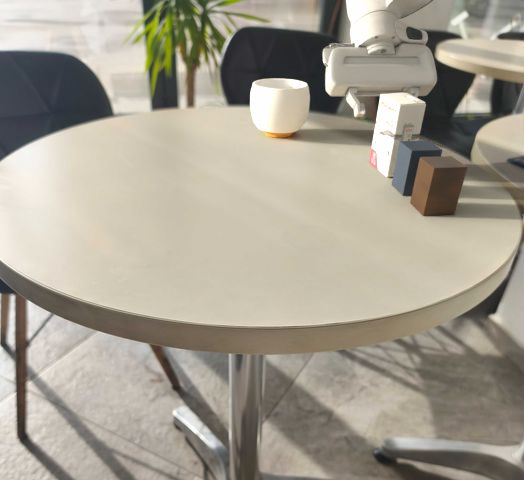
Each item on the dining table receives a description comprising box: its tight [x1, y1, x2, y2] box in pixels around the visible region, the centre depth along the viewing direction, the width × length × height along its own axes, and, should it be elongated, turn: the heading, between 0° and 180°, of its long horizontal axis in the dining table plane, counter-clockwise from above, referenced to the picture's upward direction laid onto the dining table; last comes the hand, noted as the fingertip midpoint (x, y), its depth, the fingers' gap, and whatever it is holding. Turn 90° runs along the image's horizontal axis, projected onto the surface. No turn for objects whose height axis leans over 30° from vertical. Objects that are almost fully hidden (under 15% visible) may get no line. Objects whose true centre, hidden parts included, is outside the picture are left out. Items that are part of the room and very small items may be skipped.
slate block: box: [391, 140, 443, 197], centre depth 79 cm, size 5×5×7 cm
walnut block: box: [409, 155, 468, 217], centre depth 73 cm, size 5×5×7 cm
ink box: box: [368, 93, 427, 178], centre depth 86 cm, size 9×5×12 cm, turn 12°
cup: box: [249, 77, 311, 139], centre depth 102 cm, size 12×12×10 cm
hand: (385, 115), depth 89 cm, fingers open, 8 cm apart
